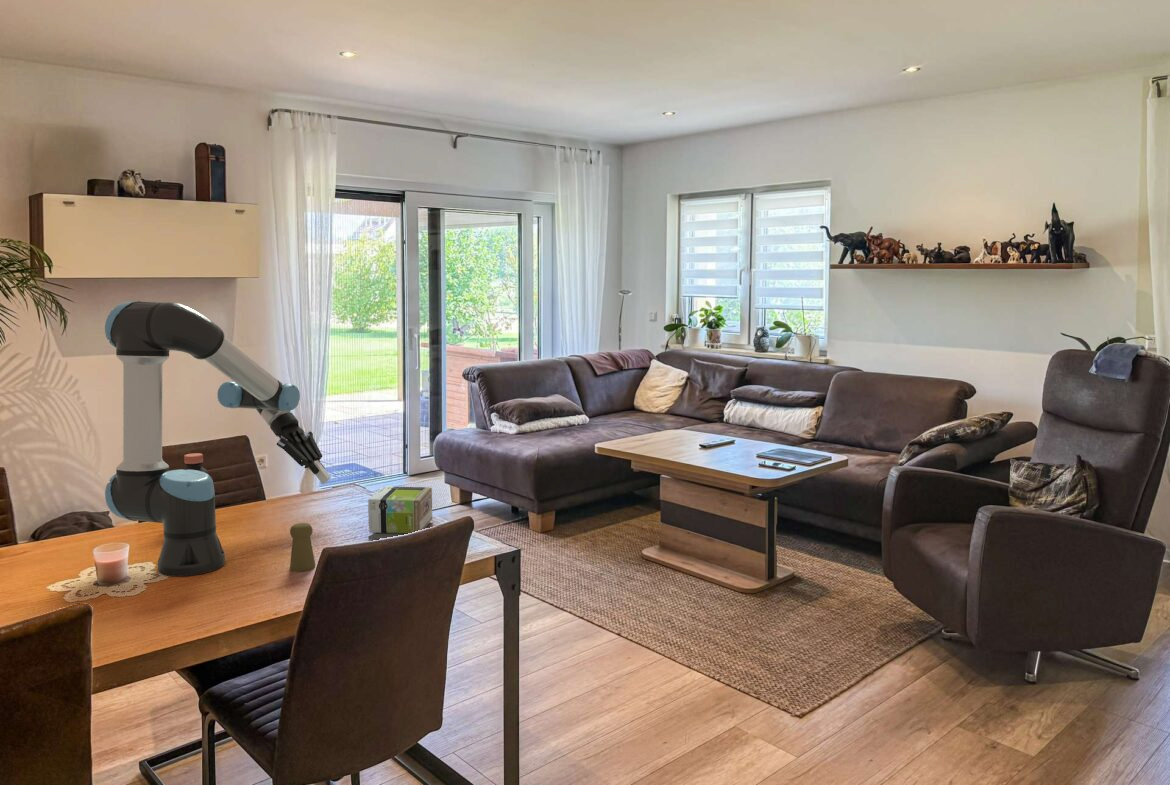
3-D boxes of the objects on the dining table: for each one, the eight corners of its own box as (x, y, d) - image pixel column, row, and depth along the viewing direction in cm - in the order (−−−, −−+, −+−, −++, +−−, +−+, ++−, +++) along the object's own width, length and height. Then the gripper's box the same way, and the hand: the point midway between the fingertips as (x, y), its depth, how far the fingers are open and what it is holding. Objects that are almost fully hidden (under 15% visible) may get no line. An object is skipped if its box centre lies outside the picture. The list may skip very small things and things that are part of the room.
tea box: (368, 534, 235) (421, 534, 234) (367, 498, 234) (420, 499, 233) (384, 518, 250) (434, 519, 249) (383, 485, 249) (432, 486, 248)
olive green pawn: (288, 572, 206) (287, 528, 204) (290, 564, 211) (288, 521, 210) (315, 570, 207) (313, 526, 206) (316, 562, 213) (314, 519, 212)
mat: (398, 543, 229) (398, 540, 229) (368, 538, 233) (368, 536, 233) (428, 529, 242) (428, 527, 242) (399, 524, 246) (399, 522, 246)
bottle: (214, 519, 250) (210, 452, 247) (201, 526, 243) (198, 457, 241) (192, 518, 251) (188, 452, 248) (179, 525, 244) (175, 456, 241)
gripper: (290, 424, 258) (335, 483, 253) (257, 431, 246) (303, 493, 241) (302, 408, 255) (348, 468, 250) (270, 414, 243) (317, 477, 239)
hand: (326, 480), depth 246 cm, fingers closed
